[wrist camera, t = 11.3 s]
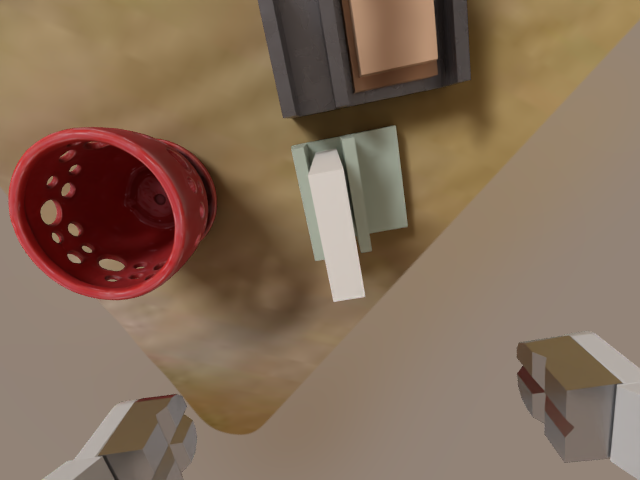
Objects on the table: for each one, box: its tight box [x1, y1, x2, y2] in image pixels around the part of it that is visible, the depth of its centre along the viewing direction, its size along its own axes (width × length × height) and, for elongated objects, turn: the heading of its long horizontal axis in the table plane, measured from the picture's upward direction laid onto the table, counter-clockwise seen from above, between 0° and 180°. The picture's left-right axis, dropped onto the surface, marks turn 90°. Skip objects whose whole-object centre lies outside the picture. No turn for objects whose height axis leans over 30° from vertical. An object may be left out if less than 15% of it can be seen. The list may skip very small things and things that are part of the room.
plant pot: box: [9, 127, 217, 300], centre depth 31 cm, size 13×13×12 cm
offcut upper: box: [348, 0, 438, 78], centre depth 27 cm, size 6×7×2 cm
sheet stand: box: [291, 125, 408, 261], centre depth 33 cm, size 10×10×6 cm
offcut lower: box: [340, 0, 438, 93], centre depth 29 cm, size 7×9×2 cm
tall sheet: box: [308, 148, 365, 302], centre depth 28 cm, size 2×8×15 cm, turn 11°
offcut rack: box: [258, 0, 471, 118], centre depth 28 cm, size 15×11×8 cm
